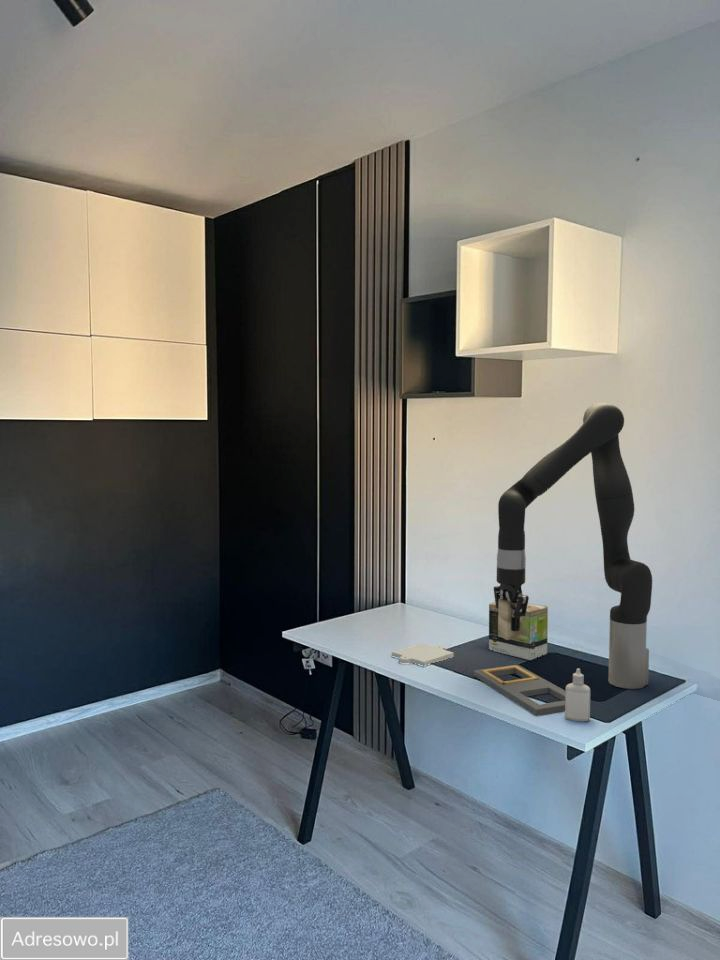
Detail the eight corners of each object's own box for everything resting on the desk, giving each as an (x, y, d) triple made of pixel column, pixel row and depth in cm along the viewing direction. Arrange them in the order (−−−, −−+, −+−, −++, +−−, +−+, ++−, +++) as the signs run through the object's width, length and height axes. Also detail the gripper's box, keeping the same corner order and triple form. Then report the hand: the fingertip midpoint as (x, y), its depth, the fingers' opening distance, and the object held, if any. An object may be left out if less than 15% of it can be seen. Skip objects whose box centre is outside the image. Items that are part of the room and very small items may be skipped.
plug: (512, 633, 203) (512, 597, 202) (521, 638, 199) (522, 601, 198) (497, 635, 201) (498, 598, 200) (507, 639, 197) (507, 602, 196)
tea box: (548, 654, 224) (549, 605, 223) (529, 661, 217) (529, 611, 216) (506, 643, 235) (507, 597, 234) (487, 650, 228) (487, 602, 227)
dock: (517, 669, 210) (517, 663, 210) (585, 707, 182) (585, 700, 182) (473, 675, 205) (473, 669, 205) (536, 715, 177) (536, 707, 177)
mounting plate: (417, 670, 211) (418, 664, 211) (385, 660, 220) (385, 653, 220) (458, 657, 223) (459, 650, 223) (426, 647, 232) (426, 641, 232)
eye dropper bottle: (582, 724, 172) (583, 674, 171) (561, 717, 176) (562, 668, 175) (593, 719, 175) (594, 669, 174) (572, 712, 179) (573, 664, 178)
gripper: (538, 569, 193) (537, 634, 194) (508, 560, 206) (507, 620, 208) (513, 571, 190) (512, 637, 192) (485, 561, 204) (484, 623, 205)
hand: (510, 628), depth 200 cm, fingers closed on plug, 4 cm apart
